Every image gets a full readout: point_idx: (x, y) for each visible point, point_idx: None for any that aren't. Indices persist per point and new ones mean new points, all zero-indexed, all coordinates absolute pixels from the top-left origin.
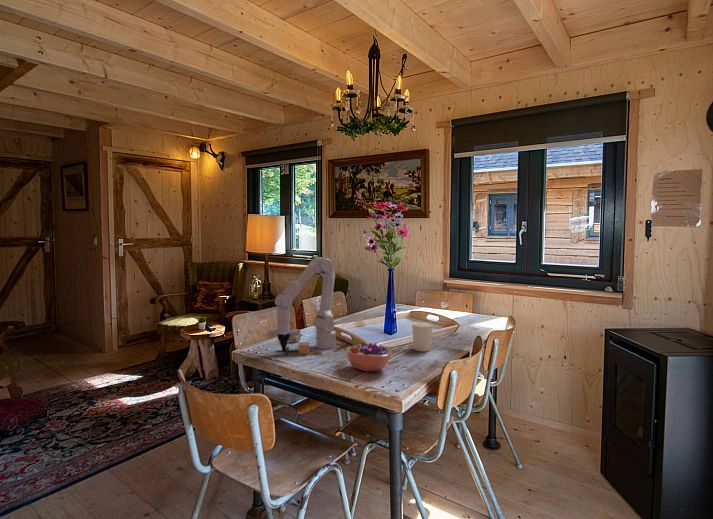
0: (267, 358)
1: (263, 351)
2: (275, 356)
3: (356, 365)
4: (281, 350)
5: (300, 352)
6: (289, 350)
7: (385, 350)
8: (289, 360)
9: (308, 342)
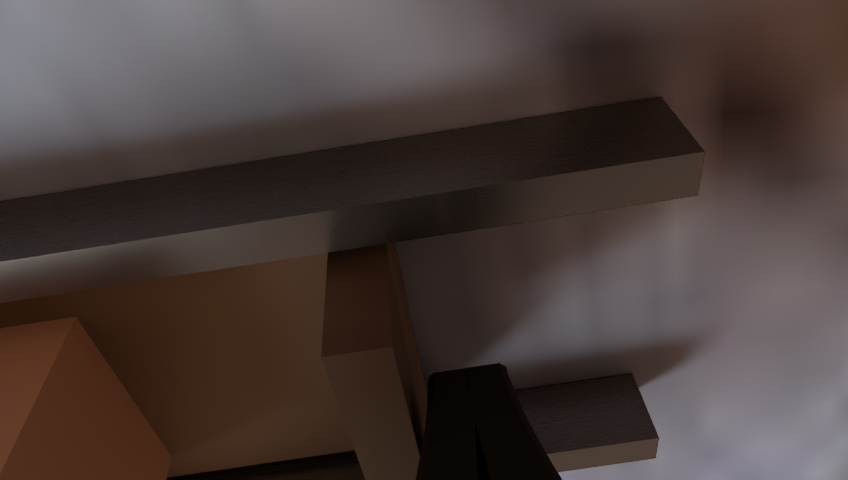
0: (818, 161)
1: (834, 465)
2: (655, 141)
3: None
4: None
5: (9, 375)
6: None
7: None
8: (235, 61)
9: None
